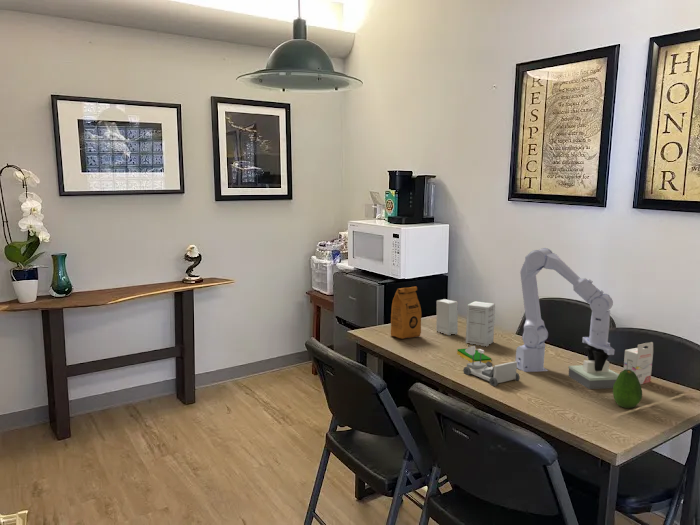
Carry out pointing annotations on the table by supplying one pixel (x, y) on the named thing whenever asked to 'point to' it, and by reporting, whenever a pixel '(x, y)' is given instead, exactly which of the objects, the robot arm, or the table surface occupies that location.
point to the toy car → (491, 369)
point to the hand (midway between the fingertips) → (595, 369)
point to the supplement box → (480, 323)
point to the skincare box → (447, 316)
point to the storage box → (591, 384)
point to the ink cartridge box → (640, 361)
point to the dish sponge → (476, 356)
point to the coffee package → (405, 314)
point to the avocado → (627, 389)
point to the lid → (589, 371)
